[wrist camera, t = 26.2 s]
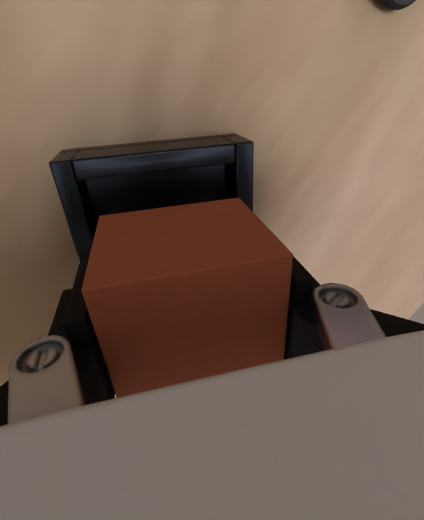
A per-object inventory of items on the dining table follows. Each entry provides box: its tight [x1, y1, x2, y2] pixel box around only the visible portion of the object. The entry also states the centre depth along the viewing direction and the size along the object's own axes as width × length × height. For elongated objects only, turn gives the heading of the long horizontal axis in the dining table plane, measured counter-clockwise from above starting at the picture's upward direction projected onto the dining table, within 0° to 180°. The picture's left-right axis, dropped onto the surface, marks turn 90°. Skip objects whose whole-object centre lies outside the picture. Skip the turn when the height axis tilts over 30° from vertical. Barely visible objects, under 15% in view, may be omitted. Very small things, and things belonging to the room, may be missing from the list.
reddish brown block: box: [81, 198, 293, 398], centre depth 10 cm, size 5×5×4 cm
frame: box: [49, 134, 253, 260], centre depth 17 cm, size 8×15×3 cm, turn 3°
